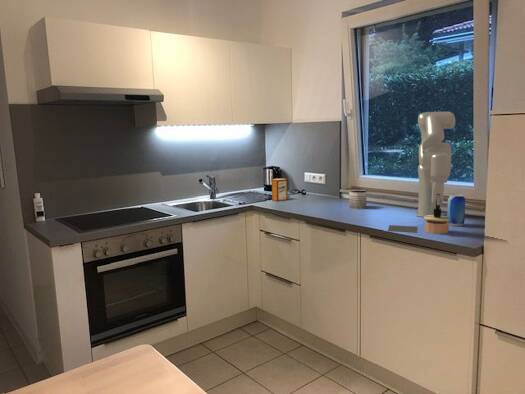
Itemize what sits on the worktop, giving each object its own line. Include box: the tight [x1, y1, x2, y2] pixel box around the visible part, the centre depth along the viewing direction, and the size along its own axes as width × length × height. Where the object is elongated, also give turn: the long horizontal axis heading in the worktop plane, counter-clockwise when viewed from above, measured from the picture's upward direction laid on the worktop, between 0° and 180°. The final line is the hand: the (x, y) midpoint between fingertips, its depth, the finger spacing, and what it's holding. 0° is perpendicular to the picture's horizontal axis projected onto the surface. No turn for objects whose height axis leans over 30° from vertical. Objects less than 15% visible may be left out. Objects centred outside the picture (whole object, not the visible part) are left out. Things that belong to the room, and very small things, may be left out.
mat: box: [387, 224, 418, 234], centre depth 221 cm, size 14×14×1 cm
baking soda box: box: [271, 177, 288, 203], centre depth 318 cm, size 10×6×16 cm
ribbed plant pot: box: [348, 189, 368, 210], centre depth 283 cm, size 11×11×12 cm
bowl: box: [424, 219, 450, 235], centre depth 214 cm, size 11×11×5 cm
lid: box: [423, 207, 451, 222], centre depth 213 cm, size 12×12×6 cm
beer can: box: [446, 193, 466, 227], centre depth 228 cm, size 8×8×16 cm
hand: (437, 215), depth 213 cm, fingers closed on lid, 2 cm apart
